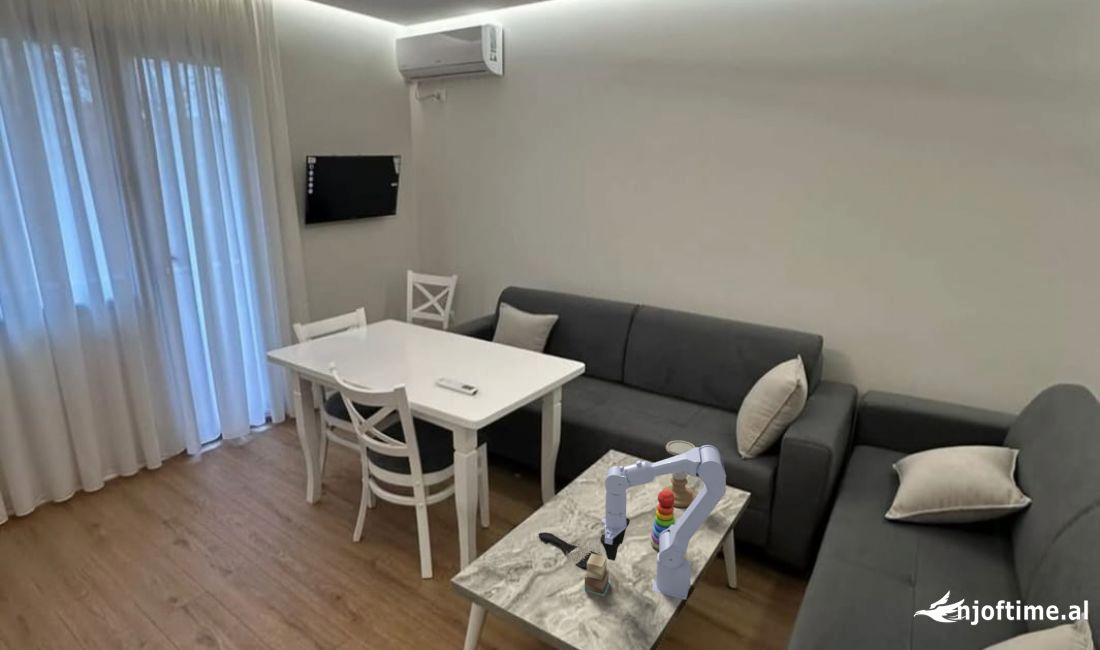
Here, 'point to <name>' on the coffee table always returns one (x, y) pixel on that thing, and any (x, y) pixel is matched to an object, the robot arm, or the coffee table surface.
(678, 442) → the candle holder
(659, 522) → the stacking toy
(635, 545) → the coffee table surface
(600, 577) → the birch block
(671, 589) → the robot arm
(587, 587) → the walnut block
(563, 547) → the hairbrush
